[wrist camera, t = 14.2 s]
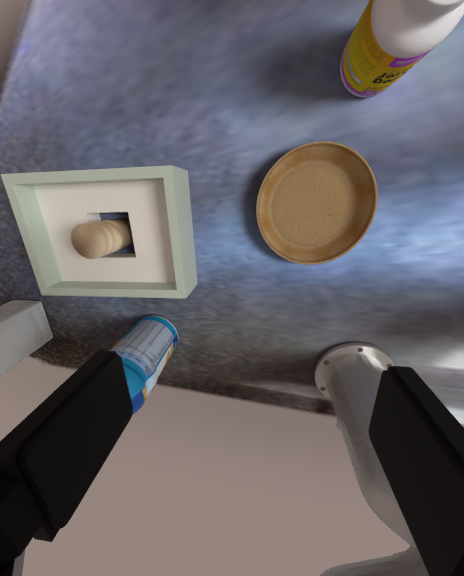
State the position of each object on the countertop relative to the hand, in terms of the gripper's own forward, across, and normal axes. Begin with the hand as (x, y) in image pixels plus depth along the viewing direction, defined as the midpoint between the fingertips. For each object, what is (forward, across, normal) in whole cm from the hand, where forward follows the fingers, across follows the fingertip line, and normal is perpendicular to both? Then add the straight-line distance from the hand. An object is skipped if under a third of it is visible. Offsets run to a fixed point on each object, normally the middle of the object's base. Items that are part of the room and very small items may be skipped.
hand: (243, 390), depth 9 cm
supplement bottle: (+28, -12, -20) cm, 37 cm away
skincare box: (+28, +42, +14) cm, 53 cm away
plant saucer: (+29, -7, -5) cm, 30 cm away
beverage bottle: (+28, +18, +16) cm, 37 cm away
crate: (+28, +21, -2) cm, 35 cm away
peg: (+28, +21, -2) cm, 35 cm away
